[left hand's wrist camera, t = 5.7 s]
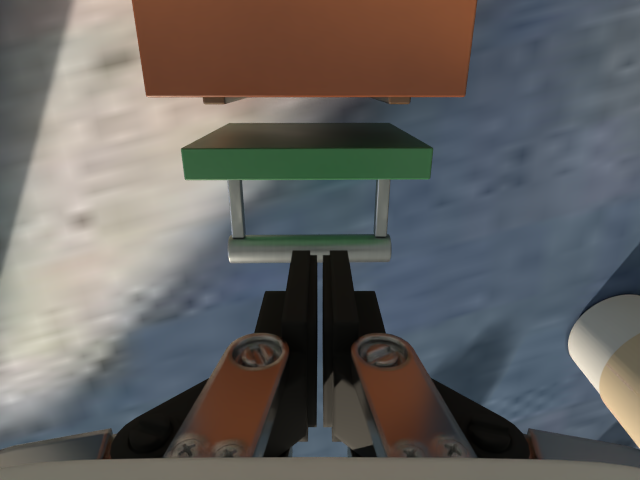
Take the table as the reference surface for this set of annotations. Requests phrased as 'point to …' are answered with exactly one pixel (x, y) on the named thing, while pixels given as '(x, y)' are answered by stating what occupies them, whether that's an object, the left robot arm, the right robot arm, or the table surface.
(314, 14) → the cabinet
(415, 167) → the drawer
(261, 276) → the table surface
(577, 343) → the coffee cup
